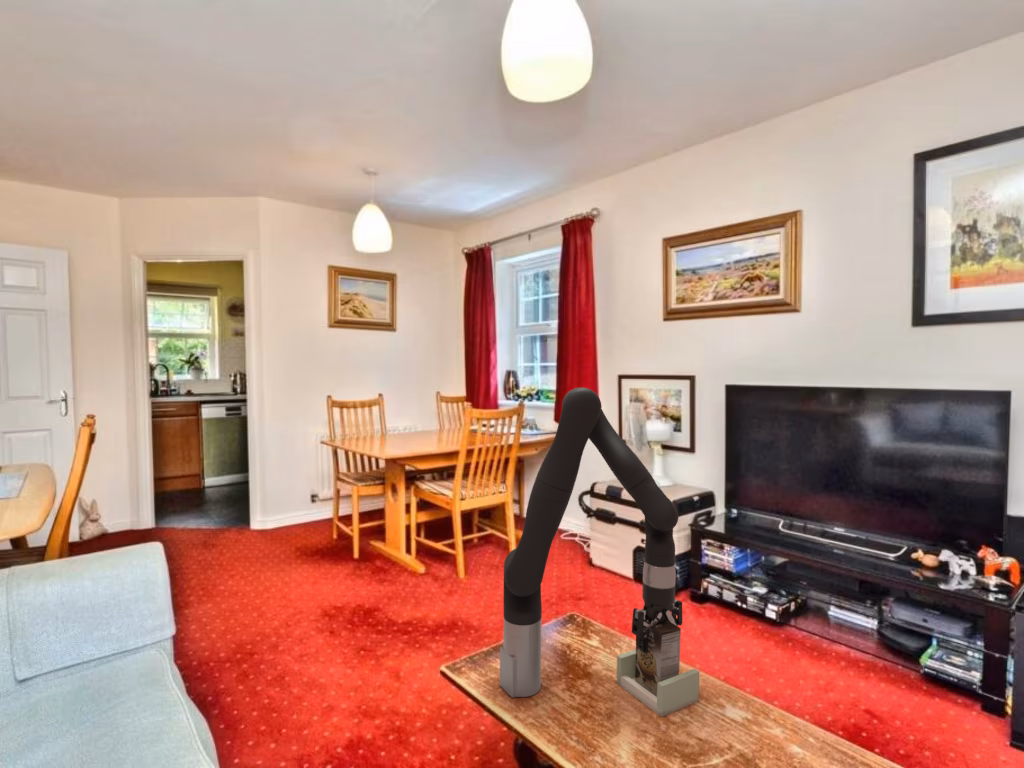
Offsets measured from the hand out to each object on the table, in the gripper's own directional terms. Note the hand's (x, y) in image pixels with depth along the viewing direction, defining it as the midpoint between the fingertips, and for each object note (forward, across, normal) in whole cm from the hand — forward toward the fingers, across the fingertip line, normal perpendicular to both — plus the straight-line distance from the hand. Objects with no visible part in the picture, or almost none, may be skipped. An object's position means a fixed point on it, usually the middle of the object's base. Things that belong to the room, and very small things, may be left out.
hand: (656, 647), depth 133 cm
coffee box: (+10, 0, 0) cm, 10 cm away
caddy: (+11, 0, 0) cm, 11 cm away
